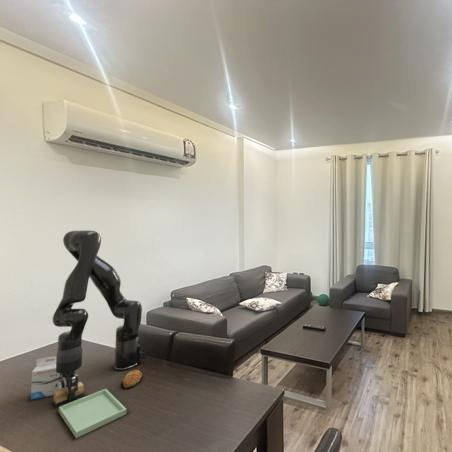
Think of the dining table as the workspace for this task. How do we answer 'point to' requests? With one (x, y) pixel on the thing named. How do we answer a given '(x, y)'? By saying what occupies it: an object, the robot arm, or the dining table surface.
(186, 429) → the dining table surface
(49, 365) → the ink box
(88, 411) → the tray
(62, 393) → the eraser
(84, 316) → the robot arm
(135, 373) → the pastry
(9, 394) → the dining table surface
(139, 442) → the dining table surface
